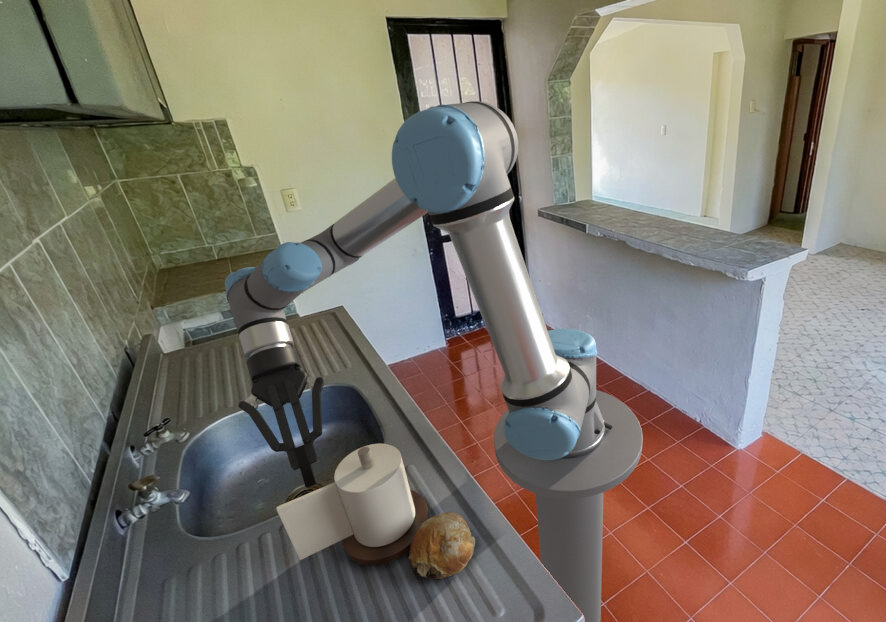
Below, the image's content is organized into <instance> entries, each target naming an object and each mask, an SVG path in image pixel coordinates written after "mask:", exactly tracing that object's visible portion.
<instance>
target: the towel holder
mask: <svg viewBox="0 0 886 622" xmlns="http://www.w3.org/2000/svg"><path fill="white" fill-rule="evenodd" d="M362 447H363V448H362ZM362 447H360V448H361V449H359V448H358V449H359V451H358V456H359V459H360V462H361V466H362V468H363V469H370V468H372V467H373V465H374V461H373V458H372V454H371V451H370V448H369V447H364V446H362ZM410 492H411V496H412V499H413V503H414V507H415V518H414V521H413V523H412V525H411V527H410V528H409V529H408V531H407V532H406V533H405V534H404V535H403V536H401V537H400V538H399V539H397V540H396V541H394V542H392V543H390V544H387V545H384V546H380V547H369V546H365V545H363V544H361V543H359V542H358V541H357V540H356V538H355V536H354V534H353V535H351V536H349V537H347V538H345V539H343V540H341V541H340V542H341V544H342V547H343V550H344V552H345V554H346V555H347V557H348V558H349V559H350V560H351V561H353V562H354V563H357V564H359V565H362V566H367V567H368V566H369V567H372V566H373V567H374V566H375V567H376V566H382V565H386V564H389V563H392V562H394V561H397V560H398V559H400V558H403V557H404V556H405V555H407V554H408V553H410V543H411V542H412V539H413V537H414V535H415V533H416V531H417V530H418V529H419V527H420V526H421V525H422V523H424V522H425V521H426V520H428V519H429V518H430V514H429V509H428V505H427V502H426V500H425V499H424V497H423V496H422V495H421V494H420V493H419V492H417V491H415V490H413V489H410Z"/></svg>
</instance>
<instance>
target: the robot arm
mask: <svg viewBox="0 0 886 622" xmlns="http://www.w3.org/2000/svg"><path fill="white" fill-rule="evenodd" d="M518 155H519V138H518V134H517V131H516V128H515V126H514V124H513V122H512V121H511V119H510V117H509V116H508V115H507V114H506V113H505V112H504V111H502V109H500V108H498V107H497V106H495V105H493V104H491V103H488V102H484V101H480V100H476V101H475V100H471V101H466V102H460V103H459V102H458V103H449V104H448V103H447V104H438V105H434V106H429V108H426V109H423V110H420V111H418V112H416V113H414V114H411V116H409V117H408V118H407V119H406V120H405V121H404V122H403V123H402V124H401V126H400V127H399V128H398V131H397V133H396V135H395V137H394V141H393V143H392V148H391V167H392V170H393V171H392V172H393V175H394V178H393V179H392V180H390V181H389V182H387V183H386V184H385V185H384V186H382V187H381V188H379V189H378V190H377V191H375V192H374V193H373V194H372V195H370V196H368V198H366V199H365V200H363V201H361V202H360V204H358V205H357V206H355V207H354V208H353V209H351V210H350V211H349V212H347V213H346V214H345V215H343V216H342V217H341V218H339V219H338V220H337V221H335V222H334V223H332V224H331V225H330V226H328V227H327V228H326V229H324V230H323V231H322V232H320V233H318V234H316V235H314V236H313V237H310V238H308V239H305V240H303V241H301V242H293V241H285V242H283V243H281V244H279V245H277V247H276V248H274V249H273V250H271V251H269V253H268V254H267V255H266V256H265V258H264V259H263V261H262V262H261V263H260V264H259V265H258V266H248V267H241V268H239V269H237V270H236V271H234V272H231V273H229V274H227V276H226V277H225V279H224V289H225V296H226V300H227V304H228V305H229V309H230V311H231V315H232V319H233V321H234V324H235V328H236V331H237V334H238V339H239V342H240V345H241V349H242V353H243V356H244V358H246V359H247V360H246V365H247V369H248V373H249V376H250V379H251V389H250V393H251V394H250V395H248V396H247V398H246V399H244V400H243V401H240V402H238V405H237V406H238V408H239V409H240V410H242V412H244V413H246V414H247V415H249V417H250V419H251V420H252V422H253V423H254V424H255V426H256V427H257V429H258V431H259V432H260V434H261V436H262V437H263V439H264V440H265V442H266V443H267V445H268V446H269V448H270V449H271V450H272V451H273V452H275V453H280V452H285V453H286V455H287V459H288V463H289V465H290V468H291V469H292V470H293V471H297V470H300V473H301V477H302V480H303V484H304V487H305V488H307V489H309V488H311V487H313V486H316V485H317V484H318V481H317V478H316V475H315V471H314V468H313V465H312V464H314V463H317V462H318V455H317V452H316V449H315V446H314V442H315V440H317V439H318V438H320V437H321V436H322V435H323V414H322V391H323V389H324V386H325V381H324V378H323V377H322V376H318V377H313V376H309V375H308V373H307V372H306V371H305V370H303V367H302V363H301V360H300V358H299V354H298V351H297V349H296V348H295V347H294V346H295V342H294V338H293V335H292V333H291V330H290V326H289V322H288V320H287V316H286V314H285V313H286V312H285V308H287V307H288V306H289V305H290V304H291V303H292V302H293V301H294V300H296V298H299V296H300V295H302V294H303V293H305V292H306V291H308V290H309V289H312V288H313V287H314V286H316V285H318V284H320V283H321V282H322V281H325V280H326V279H328V278H330V277H332V275H335V274H336V273H338V272H340V271H342V270H344V269H345V268H347V267H349V266H352V265H353V264H355V263H357V262H358V261H359V260H360V259H361V258H363V256H364V255H366V254H367V253H369V252H370V251H372V250H373V249H376V247H378V246H379V245H381V244H382V243H385V242H386V241H387V240H388V239H390V238H391V237H392V238H393V236H395V235H396V234H398V233H400V232H401V231H402V230H404V229H405V228H407V227H408V226H410V225H411V224H413V223H414V222H416V221H417V220H420V218H422V217H424V216H425V215H426V214H428V216H429V218H430V221H431V223H432V226H433V227H434V228H437V229H439V230H441V231H443V232H445V233H447V235H449V238H450V241H451V243H452V245H453V248H454V250H455V252H456V255H457V258H458V260H459V263H460V266H461V267H462V270H463V273H464V275H465V278H466V280H467V282H468V286H469V288H470V290H471V292H472V295H473V298H474V300H475V303H476V305H477V308H478V310H479V313H480V315H481V318H482V320H483V322H484V325H485V328H486V331H487V333H488V335H489V338H490V340H491V343H492V345H493V348H494V350H495V353H496V356H497V358H498V360H499V363H500V365H501V368H502V370H503V373H504V374H503V377H502V379H501V381H500V384H499V389H500V392H501V395H502V396H503V399H504V403H505V404H506V407H507V409H508V410H509V415H507V417H506V419H505V421H504V423H505V424H504V435H505V437H506V439H507V441H508V442H509V444H510V445H511V446H512V447H513V448H514V449H516V450H517V451H518V452H520V453H522V454H525V455H527V456H528V457H531V458H534V459H539V460H555V459H559V458H576V457H580V456H584V455H586V454H589V453H590V452H592V451H594V450H595V449H596V448H597V447H598V446H599V445H600V444H601V442H602V441H603V438H604V431H605V428H607V429H610V430H611V429H612V425H610V424H607V423H605V422H604V420H603V417H602V415H601V412H600V410H599V407H598V405H597V402H596V390H597V355H598V350H597V342H596V340H595V338H594V336H592V335H591V334H589V333H587V332H585V331H583V330H580V329H575V328H555V329H549V330H548V327H547V325H546V322H545V319H544V316H543V313H542V310H541V307H540V304H539V301H538V298H537V296H536V292H535V289H534V286H533V283H532V281H531V277H530V275H529V272H528V268H527V265H526V263H525V260H524V257H523V254H522V251H521V248H520V245H519V242H518V239H517V236H516V234H515V230H514V227H513V224H512V221H511V218H510V215H509V212H510V209H511V207H512V206H513V203H514V201H515V196H514V192H513V189H512V186H511V183H510V179H509V177H508V174H509V173H510V172H511V171H512V169H513V167H514V166H515V163H516V161H517V158H518ZM307 385H308V388H309V390H310V391H311V407H312V408H311V409H312V410H311V411H312V431H310V429H309V426H308V423H307V422H308V421H307V420H306V416H305V413H304V410H303V407H302V404H301V397H302V396H303V394H304V391H305V389H306V386H307ZM258 400H259V401H260V402H262V403H264V404H265V405H267V406H268V407H272V410H273V412H274V416H275V419H276V422H277V426H278V429H279V432H280V433H279V434H280V437H281V439H282V442H280V441H279V440H278V438H277V436H276V435H275V433H274V432H273V431H272V429H271V428H270V426H269V425H268V423H267V422H266V419H265V418H264V417H263V415H262V414H261V412H259V410H258V408H259V403H258ZM287 404H290V406H291V408H292V412H293V415H294V418H295V421H296V425H297V428H298V432H299V434H300V438H301V442H302V443H303V444H302V445H299V446H296V444H295V441H294V438H293V435H292V432H291V431H292V430H291V428H290V424H289V421H288V417H287V414H286V411H285V407H284V406H285V405H287Z"/></svg>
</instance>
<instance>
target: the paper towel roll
mask: <svg viewBox="0 0 886 622" xmlns="http://www.w3.org/2000/svg"><path fill="white" fill-rule="evenodd" d="M363 447H369V448H370V451H371V454H372V458H373V461H374V465H373V467H372V468H370V469H363V468H362V466H361V462H360V459H359V456H358V451H359V449H361V448H363ZM333 479H334V481H333V482H331V483H329V484H327V485H325V486H323V487H319V488H318V489H315V490H313V491H310V492H308V493H306V494H304V495H301V496H299V497H297V498H294V499H292V500H290V501H287V502H285V503H283V504H280V505H278V506H275V510H276V512H277V514H278V516H279V519H280V520H281V523H282V525H283V527H284V530H285V531H286V534H287V535H288V538H289V540H290V542H291V545H292V547H293V549H294V551H295V553H296V555H297V557H298V560H299V561H302V560H304V559H306V558H308V557H309V556H312V555H314V554H316V553H318V552H321V551H322V550H324V549H326V548H328V547H330V546H332V545H335V544H337V543H338V542H342V541H341V540H343V539H345V538H347V537H349V536H351V535H353V534H354V536H355V538H356V540H357V541H358V542H359V543H361V544H363V545H365V546H369V547H380V546H384V545H387V544H390V543H392V542H394V541H396V540H397V539H399V538H400V537H401V536H403V535H404V534H405V533H406V532H407V531H408V529H409V528H410V527H411V525H412V523H413V521H414V518H415V507H414V503H413V499H412V496H411V492H410V490H411V487H410V485H409V480H408V477H407V472H406V469H405V465H404V461H403V457H402V454H401V452H400V450H399V449H398V448H397V447H396V446H394V445H391V444H387V443H372V444H369V445H364V446H362V447H360V448H357V449H355V450H353V451H351V452H350V453H349V454H347V455H346V456H345V457H344V458H343V459H342V460H341V461H340V462H339V463H338V465H337V466H336V469H335V471H334V474H333Z"/></svg>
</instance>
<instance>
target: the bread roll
mask: <svg viewBox="0 0 886 622" xmlns="http://www.w3.org/2000/svg"><path fill="white" fill-rule="evenodd" d="M475 547H476V538H475V535H474V536H473V535H472V532H471V529H470V527H469V525H468V523H467V521H466V519H465V518H464V517H463V516H462V515H461V514H459V513H456V512H453V511H448V512H441V513H439V514H436V515H434V516H432V517H429V519H428V520H426V521H425V522H424V523H422V525H421V526H420V527H419V529H418V530H417V531H416V533H415V535H414V537H413V539H412V542H411V543H410V551H409V556H408V557H407V559H408V560H409V561H410V564H411V567H412V574H413V575H414V576H416V577H423V578H425V579H428V580H435V579H436V580H442V579H446V578H448V577H451V576H454V575H457V574H459V573H460V572H462V571H463V569H464V568H465V567H467V565H468V563H469V562H470V561H471V559H472V557H473V555H474V551H475Z"/></svg>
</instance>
